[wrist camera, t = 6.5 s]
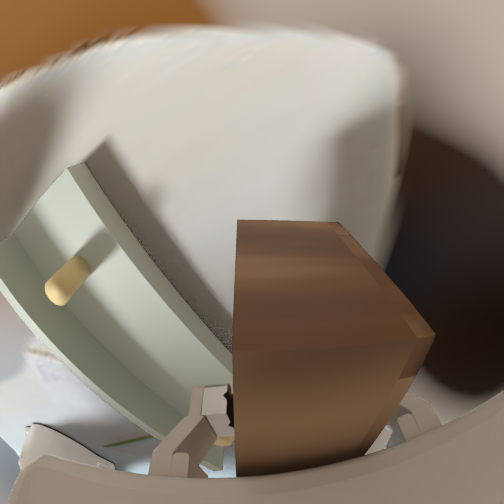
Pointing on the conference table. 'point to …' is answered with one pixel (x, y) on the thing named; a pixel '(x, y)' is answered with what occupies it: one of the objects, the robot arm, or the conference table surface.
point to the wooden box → (315, 346)
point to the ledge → (110, 309)
